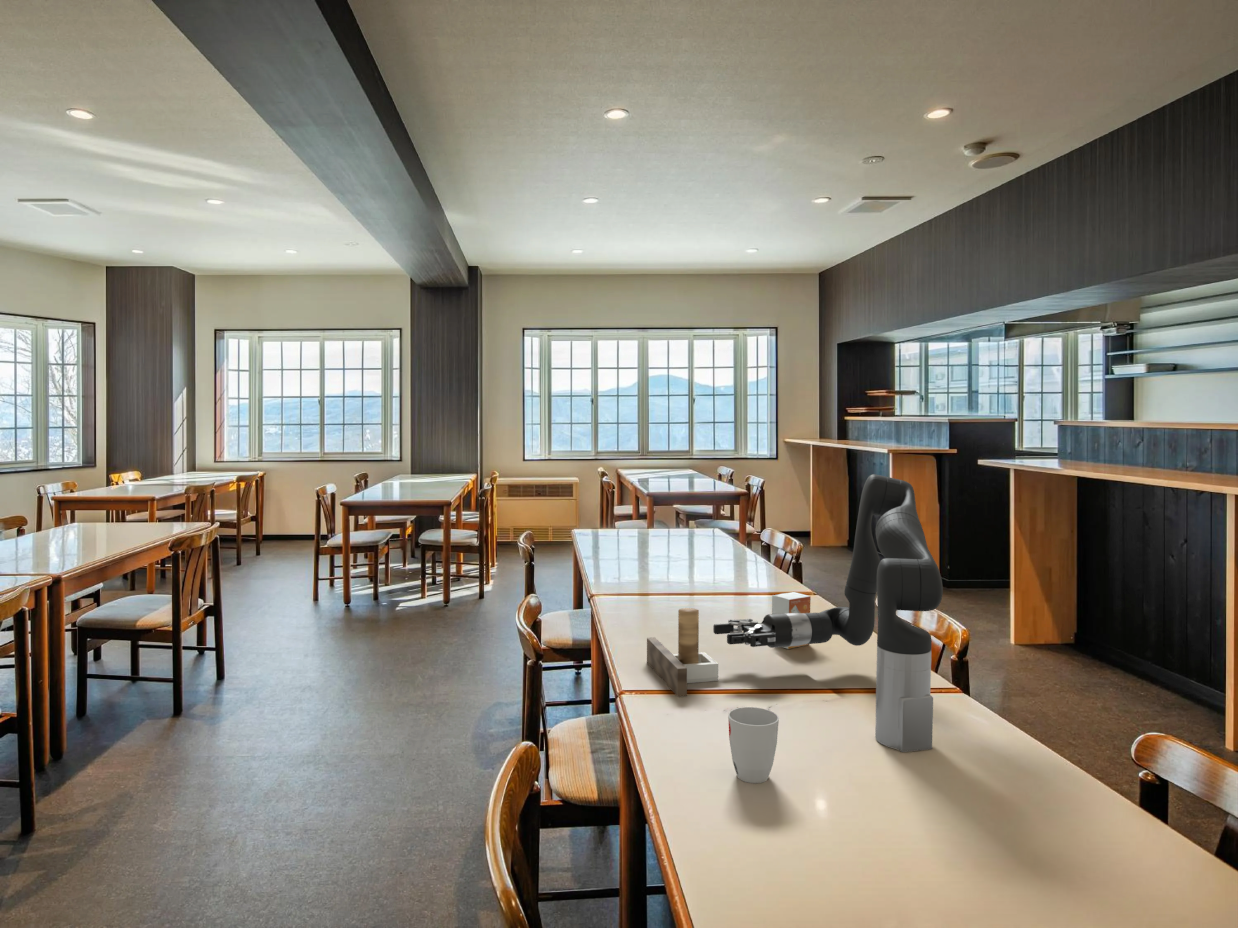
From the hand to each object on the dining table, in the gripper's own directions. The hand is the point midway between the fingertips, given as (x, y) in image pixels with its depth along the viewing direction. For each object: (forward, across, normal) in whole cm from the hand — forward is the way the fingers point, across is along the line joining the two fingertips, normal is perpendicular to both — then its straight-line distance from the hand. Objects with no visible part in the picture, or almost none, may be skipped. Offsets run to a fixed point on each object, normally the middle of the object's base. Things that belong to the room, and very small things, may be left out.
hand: (720, 634), depth 174 cm
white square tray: (+7, 0, +9) cm, 11 cm away
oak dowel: (+8, 0, +8) cm, 11 cm away
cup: (+12, +47, +10) cm, 50 cm away
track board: (+4, 0, +10) cm, 11 cm away
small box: (-28, -22, +10) cm, 37 cm away
